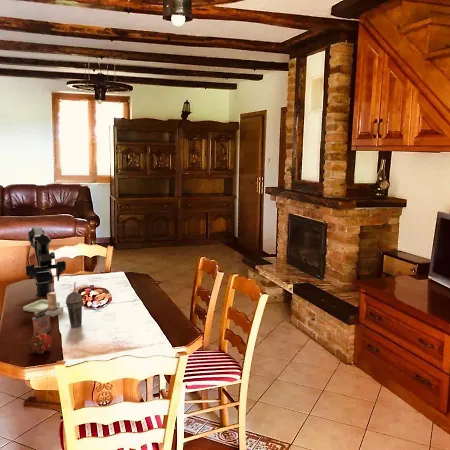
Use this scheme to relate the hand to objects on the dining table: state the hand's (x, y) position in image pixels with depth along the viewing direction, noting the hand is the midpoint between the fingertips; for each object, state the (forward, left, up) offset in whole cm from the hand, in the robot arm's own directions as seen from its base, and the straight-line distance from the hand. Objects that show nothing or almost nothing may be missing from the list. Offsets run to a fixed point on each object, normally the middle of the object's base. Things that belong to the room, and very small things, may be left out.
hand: (48, 282), depth 238 cm
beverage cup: (+14, +28, -14) cm, 34 cm away
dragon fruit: (+40, +33, -14) cm, 54 cm away
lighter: (+25, +19, -14) cm, 34 cm away
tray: (+1, -5, -13) cm, 14 cm away
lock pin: (+5, +6, -13) cm, 16 cm away
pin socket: (+5, +6, -13) cm, 16 cm away
